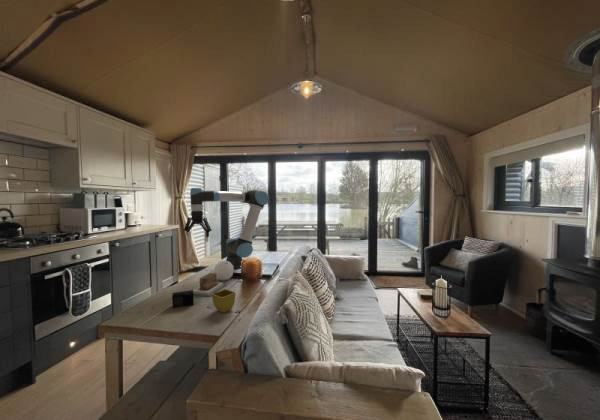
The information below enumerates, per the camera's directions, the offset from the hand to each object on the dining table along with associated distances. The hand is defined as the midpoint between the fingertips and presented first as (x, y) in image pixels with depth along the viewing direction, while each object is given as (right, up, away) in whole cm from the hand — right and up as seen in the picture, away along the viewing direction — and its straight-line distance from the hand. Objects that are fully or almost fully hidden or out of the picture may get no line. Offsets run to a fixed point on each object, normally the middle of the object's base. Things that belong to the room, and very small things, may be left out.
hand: (198, 241), depth 188 cm
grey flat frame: (+13, -28, -18) cm, 36 cm away
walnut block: (+13, -27, -18) cm, 35 cm away
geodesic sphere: (+18, -27, +1) cm, 32 cm away
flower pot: (+31, -30, -48) cm, 65 cm away
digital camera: (+8, -30, -42) cm, 52 cm away
